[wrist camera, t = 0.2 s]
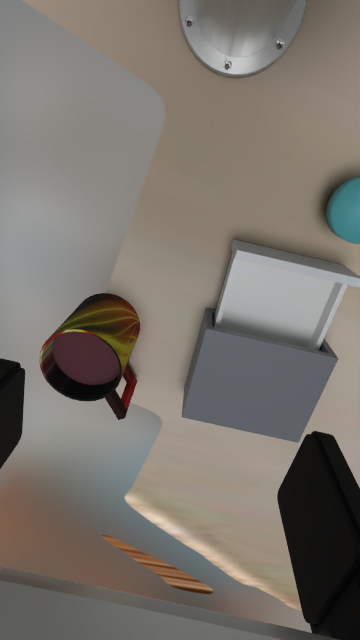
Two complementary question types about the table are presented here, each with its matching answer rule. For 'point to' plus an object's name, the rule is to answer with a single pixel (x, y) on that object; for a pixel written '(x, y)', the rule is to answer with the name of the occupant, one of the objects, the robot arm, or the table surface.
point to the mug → (94, 352)
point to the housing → (254, 382)
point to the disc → (345, 211)
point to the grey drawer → (281, 295)
